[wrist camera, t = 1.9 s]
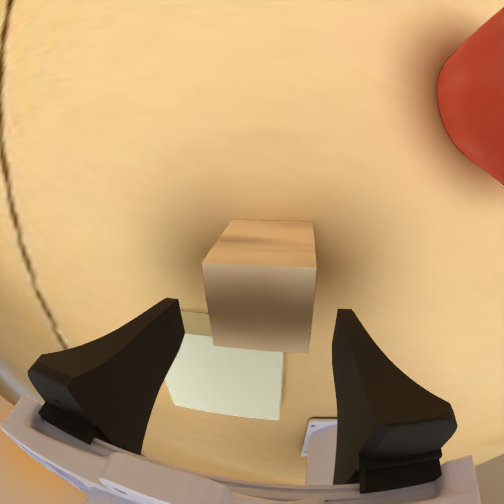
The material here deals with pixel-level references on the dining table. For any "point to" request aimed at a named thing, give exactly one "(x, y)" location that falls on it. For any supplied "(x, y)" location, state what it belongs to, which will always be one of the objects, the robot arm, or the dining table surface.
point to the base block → (224, 375)
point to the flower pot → (477, 96)
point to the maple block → (262, 285)
